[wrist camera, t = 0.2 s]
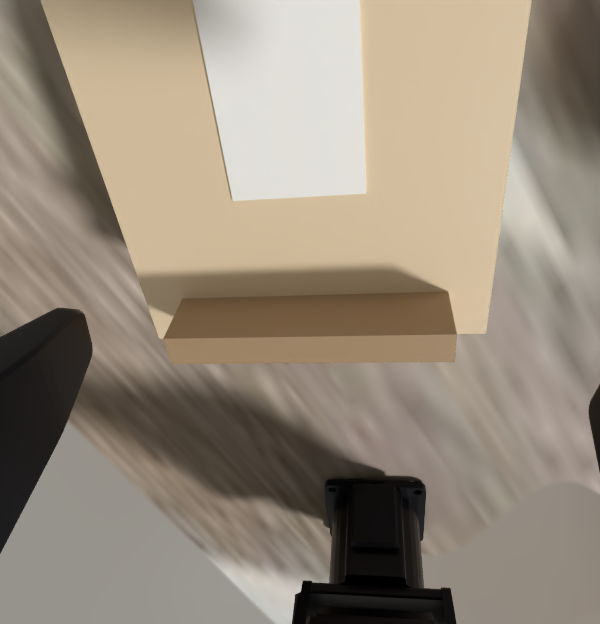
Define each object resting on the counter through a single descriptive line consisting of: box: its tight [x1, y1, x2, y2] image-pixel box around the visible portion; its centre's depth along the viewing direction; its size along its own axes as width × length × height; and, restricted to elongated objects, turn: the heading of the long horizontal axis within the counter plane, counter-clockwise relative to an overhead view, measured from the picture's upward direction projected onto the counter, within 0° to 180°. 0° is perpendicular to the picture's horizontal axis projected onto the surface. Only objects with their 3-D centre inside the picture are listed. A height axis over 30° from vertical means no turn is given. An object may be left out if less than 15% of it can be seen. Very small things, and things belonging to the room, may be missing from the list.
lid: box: [40, 0, 531, 364], centre depth 16 cm, size 14×13×3 cm
